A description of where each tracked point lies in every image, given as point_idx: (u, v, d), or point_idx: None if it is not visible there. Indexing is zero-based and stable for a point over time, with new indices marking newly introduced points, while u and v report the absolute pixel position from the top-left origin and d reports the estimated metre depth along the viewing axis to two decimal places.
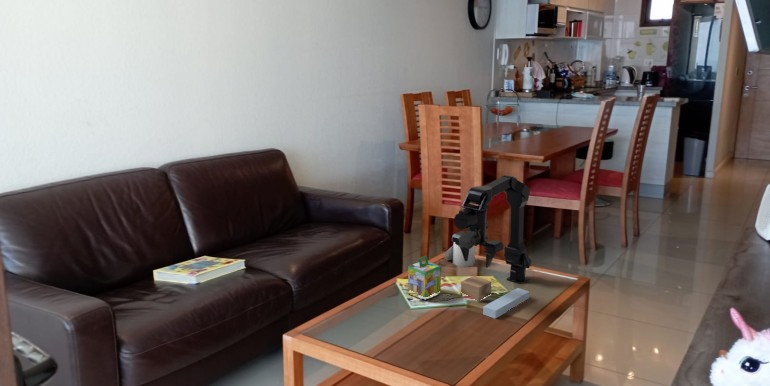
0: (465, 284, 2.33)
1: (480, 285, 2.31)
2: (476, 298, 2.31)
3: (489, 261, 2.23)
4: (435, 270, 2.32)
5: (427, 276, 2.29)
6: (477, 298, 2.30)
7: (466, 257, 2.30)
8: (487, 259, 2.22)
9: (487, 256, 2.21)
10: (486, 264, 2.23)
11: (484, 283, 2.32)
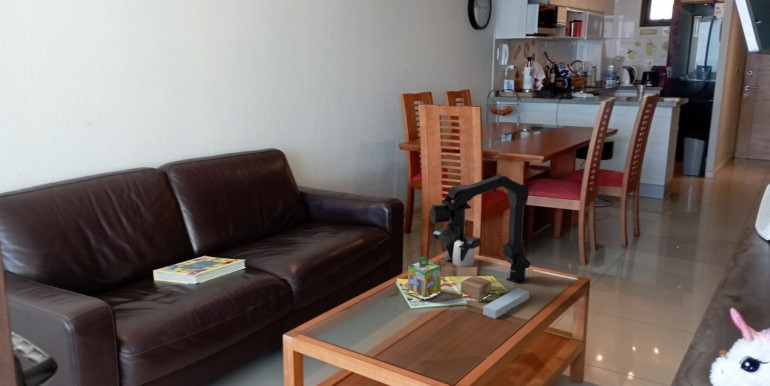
0: (465, 284, 2.33)
1: (480, 285, 2.31)
2: (476, 298, 2.30)
3: (463, 255, 2.36)
4: (435, 270, 2.32)
5: (427, 276, 2.29)
6: (477, 298, 2.30)
7: (451, 254, 2.40)
8: (461, 253, 2.35)
9: (461, 250, 2.34)
10: (461, 258, 2.36)
11: (484, 283, 2.32)
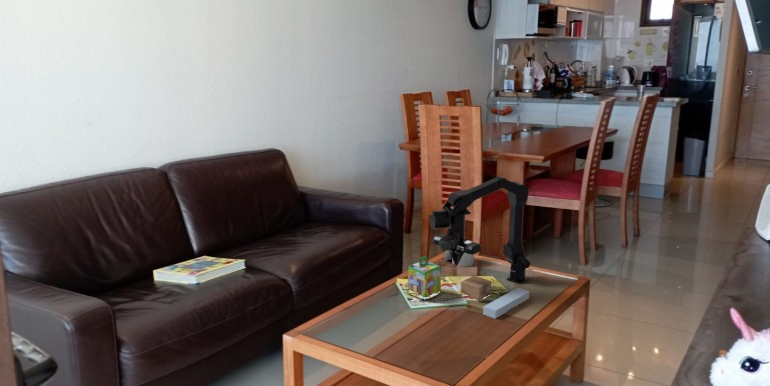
0: (465, 284, 2.33)
1: (480, 285, 2.31)
2: (476, 298, 2.30)
3: (458, 259, 2.38)
4: (435, 270, 2.32)
5: (427, 276, 2.29)
6: (477, 298, 2.30)
7: None
8: (456, 257, 2.37)
9: (456, 254, 2.37)
10: (456, 262, 2.38)
11: (484, 283, 2.32)
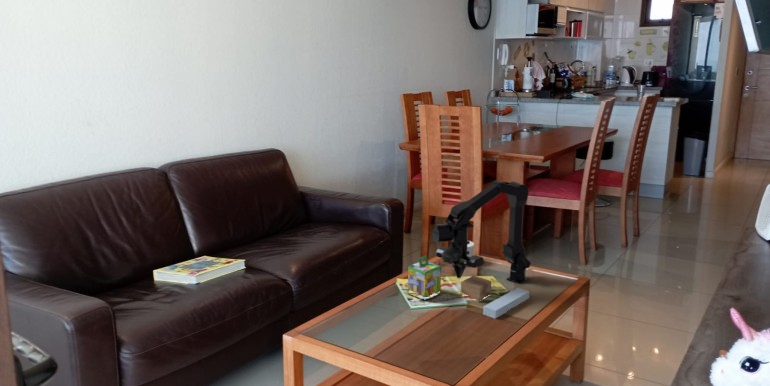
0: (465, 284, 2.33)
1: (480, 285, 2.31)
2: (476, 298, 2.30)
3: (461, 272, 2.38)
4: (435, 270, 2.32)
5: (427, 276, 2.29)
6: (478, 298, 2.30)
7: None
8: (459, 270, 2.37)
9: (459, 267, 2.37)
10: (458, 275, 2.39)
11: (484, 283, 2.32)
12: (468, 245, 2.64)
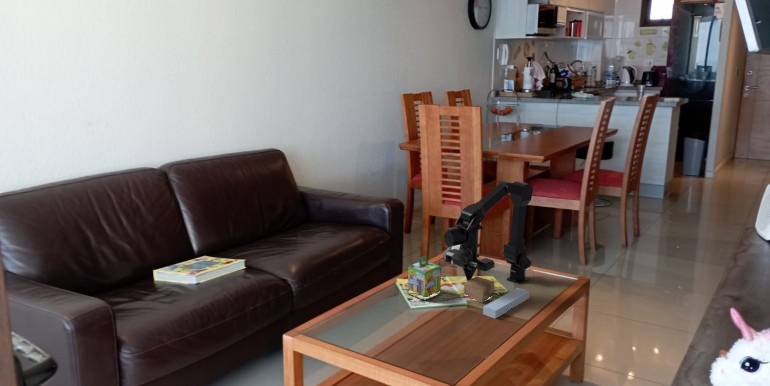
0: (468, 285, 2.32)
1: (483, 285, 2.30)
2: (480, 299, 2.29)
3: (471, 275, 2.35)
4: (435, 270, 2.32)
5: (427, 276, 2.29)
6: (481, 299, 2.29)
7: None
8: (469, 273, 2.34)
9: (469, 270, 2.34)
10: (468, 278, 2.35)
11: (487, 283, 2.31)
12: None
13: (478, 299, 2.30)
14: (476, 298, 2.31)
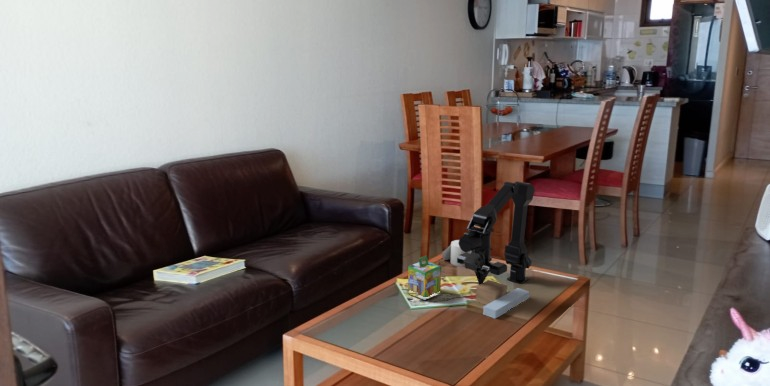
0: (481, 289, 2.28)
1: (496, 289, 2.26)
2: None
3: (483, 279, 2.32)
4: (435, 270, 2.32)
5: (427, 276, 2.29)
6: None
7: None
8: (481, 277, 2.31)
9: (481, 274, 2.30)
10: (480, 282, 2.32)
11: (500, 287, 2.28)
12: None
13: None
14: (489, 302, 2.27)
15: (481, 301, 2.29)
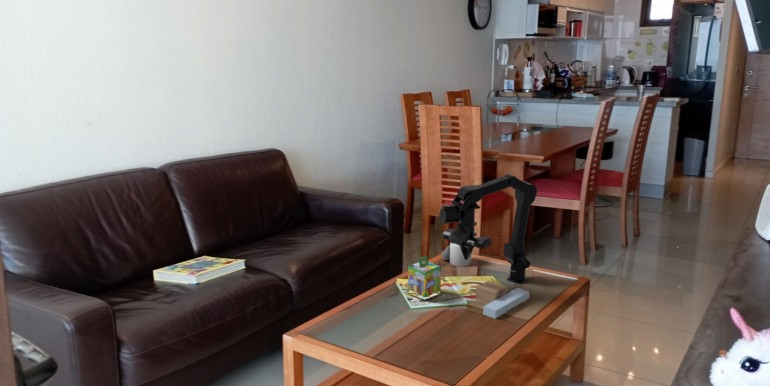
0: (481, 289, 2.28)
1: (496, 290, 2.26)
2: None
3: (468, 254, 2.38)
4: (435, 270, 2.32)
5: (427, 276, 2.29)
6: None
7: None
8: (466, 252, 2.37)
9: (466, 249, 2.37)
10: (466, 256, 2.38)
11: (500, 288, 2.28)
12: None
13: None
14: (488, 303, 2.27)
15: (481, 301, 2.29)
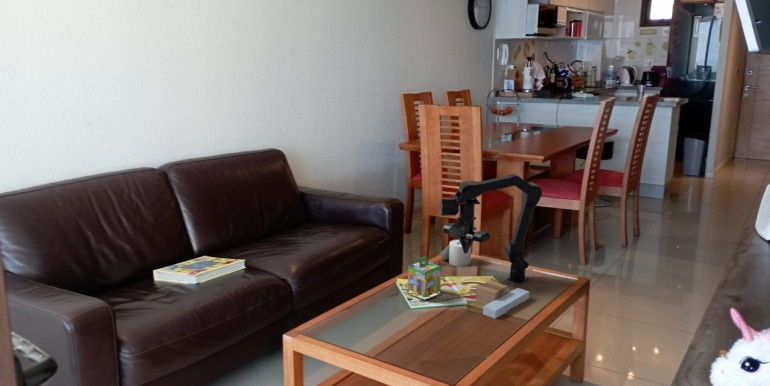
0: (480, 289, 2.28)
1: (496, 290, 2.26)
2: None
3: (468, 247, 2.44)
4: (435, 270, 2.32)
5: (427, 276, 2.29)
6: None
7: None
8: (466, 245, 2.43)
9: (466, 243, 2.43)
10: (465, 250, 2.44)
11: (500, 288, 2.28)
12: None
13: None
14: (488, 303, 2.27)
15: (481, 301, 2.29)
